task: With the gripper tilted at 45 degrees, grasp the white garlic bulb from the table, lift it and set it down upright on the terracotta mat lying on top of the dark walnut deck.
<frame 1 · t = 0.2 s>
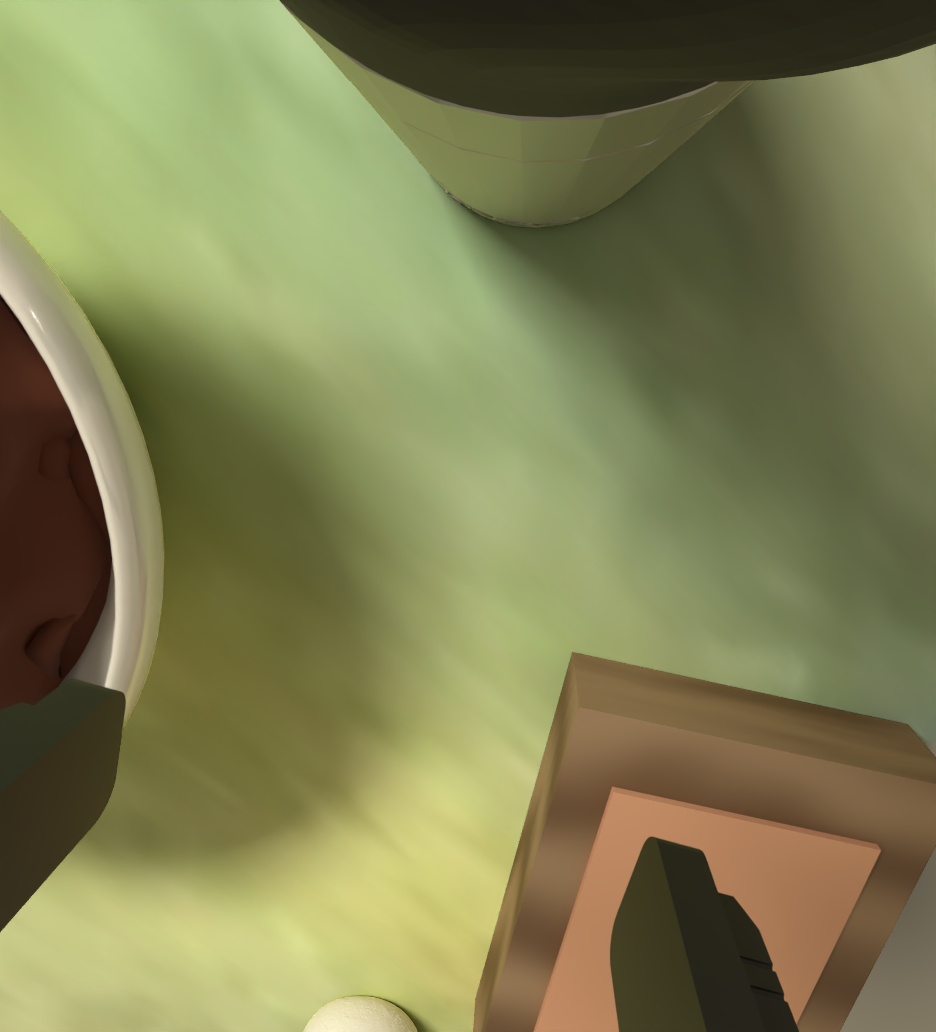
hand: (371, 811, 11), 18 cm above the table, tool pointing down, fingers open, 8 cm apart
garlic bulb: (367, 1026, 37), on the table
mat: (689, 953, 29), resting on deck
deck: (669, 875, 33), on the table
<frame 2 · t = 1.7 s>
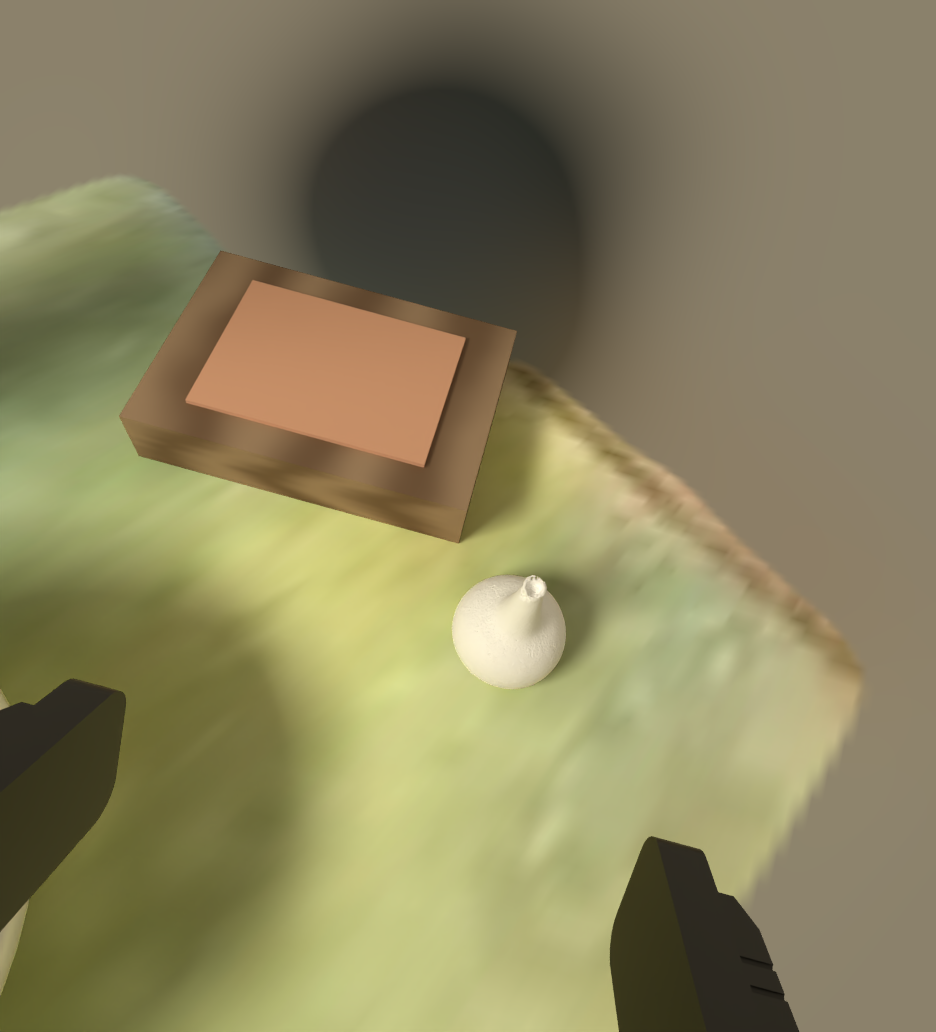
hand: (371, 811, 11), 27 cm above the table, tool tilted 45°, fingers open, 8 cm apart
garlic bulb: (504, 639, 41), on the table
mat: (333, 370, 43), resting on deck
deck: (336, 410, 47), on the table
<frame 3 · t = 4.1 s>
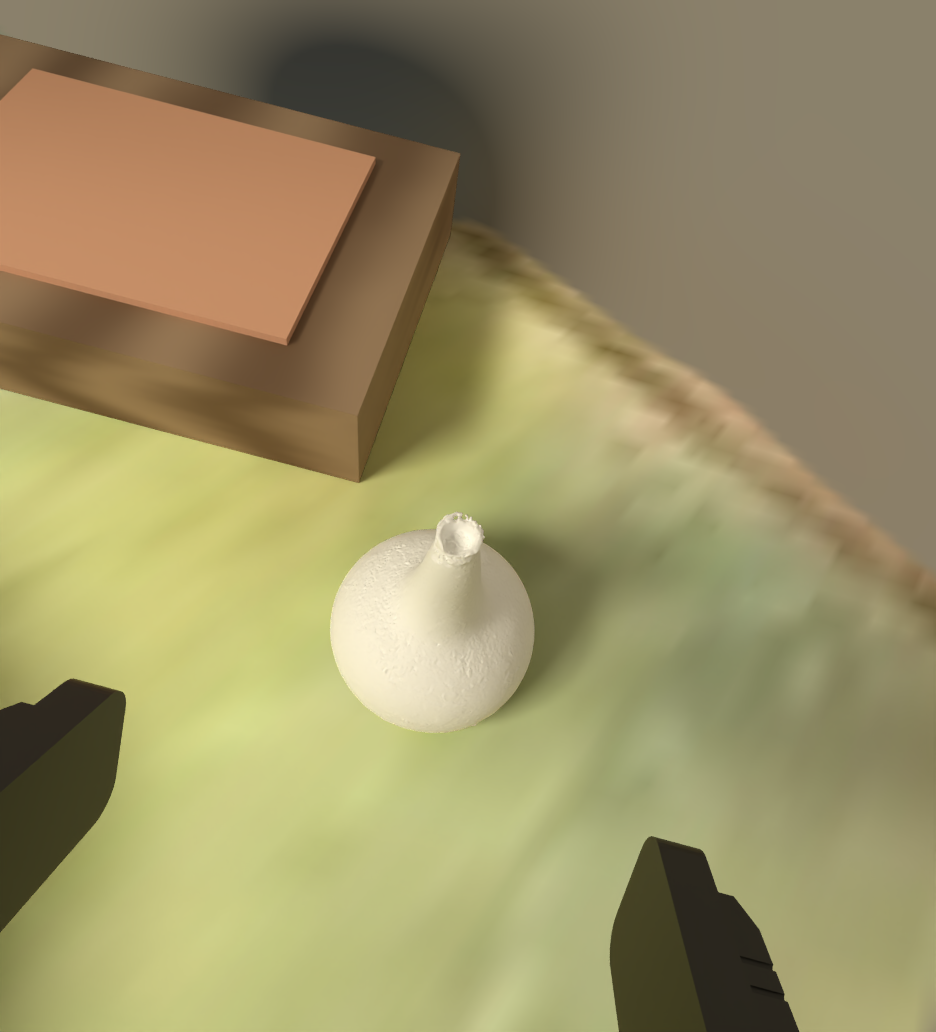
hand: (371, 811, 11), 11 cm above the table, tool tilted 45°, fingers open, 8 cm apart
garlic bulb: (429, 643, 24), on the table
mat: (149, 197, 26), resting on deck
deck: (175, 282, 29), on the table
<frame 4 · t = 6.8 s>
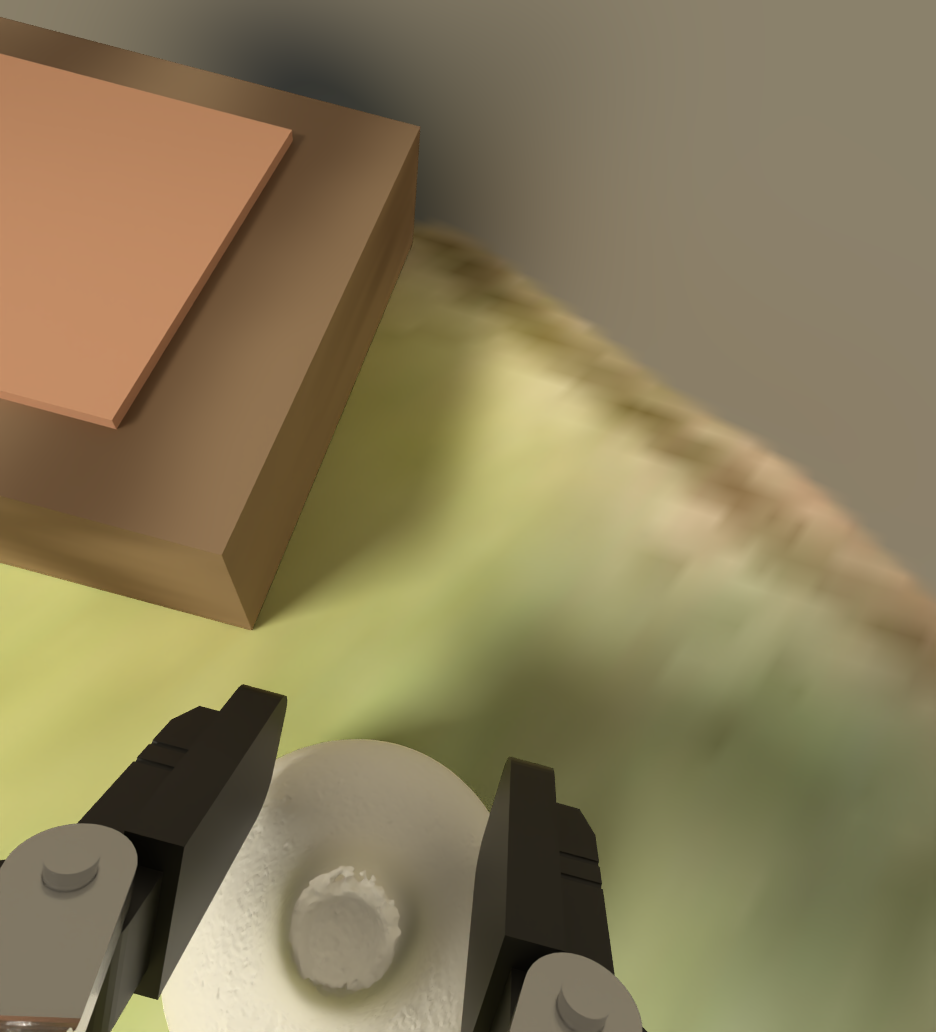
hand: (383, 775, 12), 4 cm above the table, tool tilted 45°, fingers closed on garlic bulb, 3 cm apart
garlic bulb: (350, 919, 14), on the table, touching gripper
deck: (5, 312, 20), on the table
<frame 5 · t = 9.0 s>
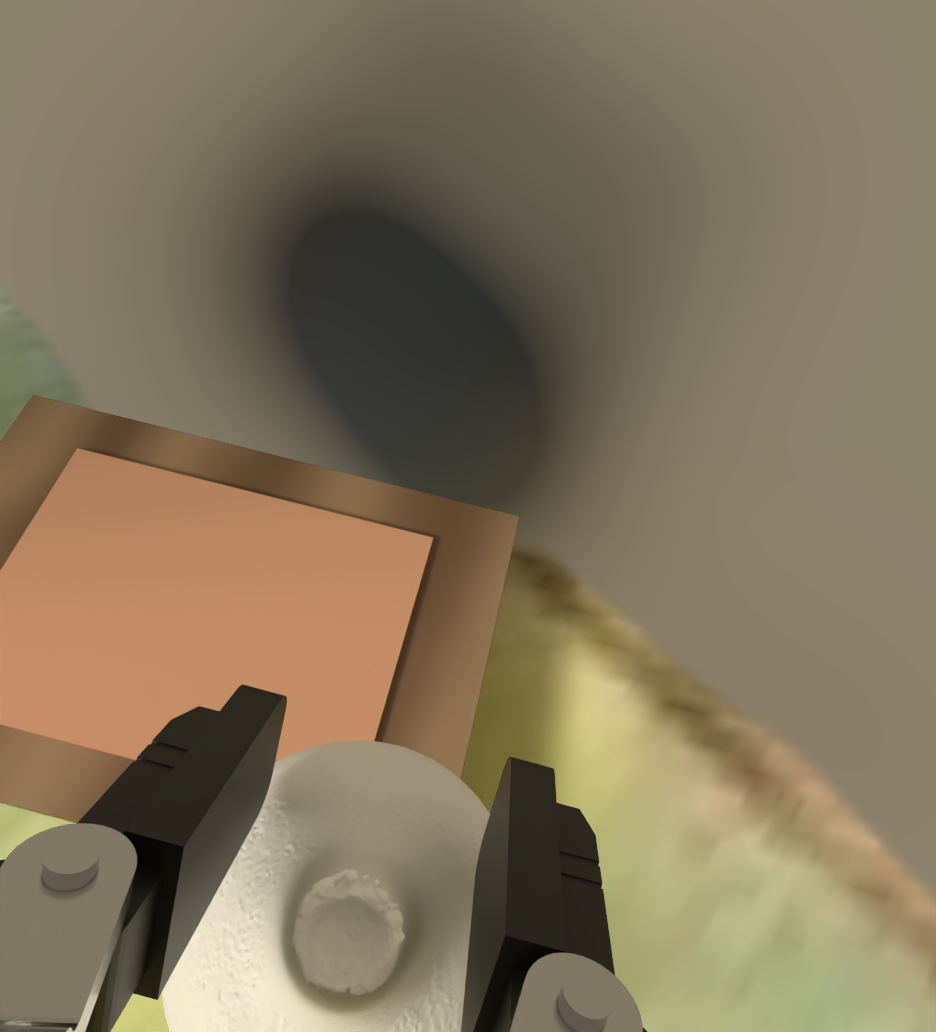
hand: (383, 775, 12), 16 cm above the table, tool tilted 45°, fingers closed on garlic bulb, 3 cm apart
garlic bulb: (351, 920, 14), point 12 cm above the table, touching gripper
mat: (201, 615, 25), resting on deck
deck: (224, 652, 28), on the table
when the fingers open (10 cm above the table, at t = 11.6 s): garlic bulb drops 1 cm, resting on mat.
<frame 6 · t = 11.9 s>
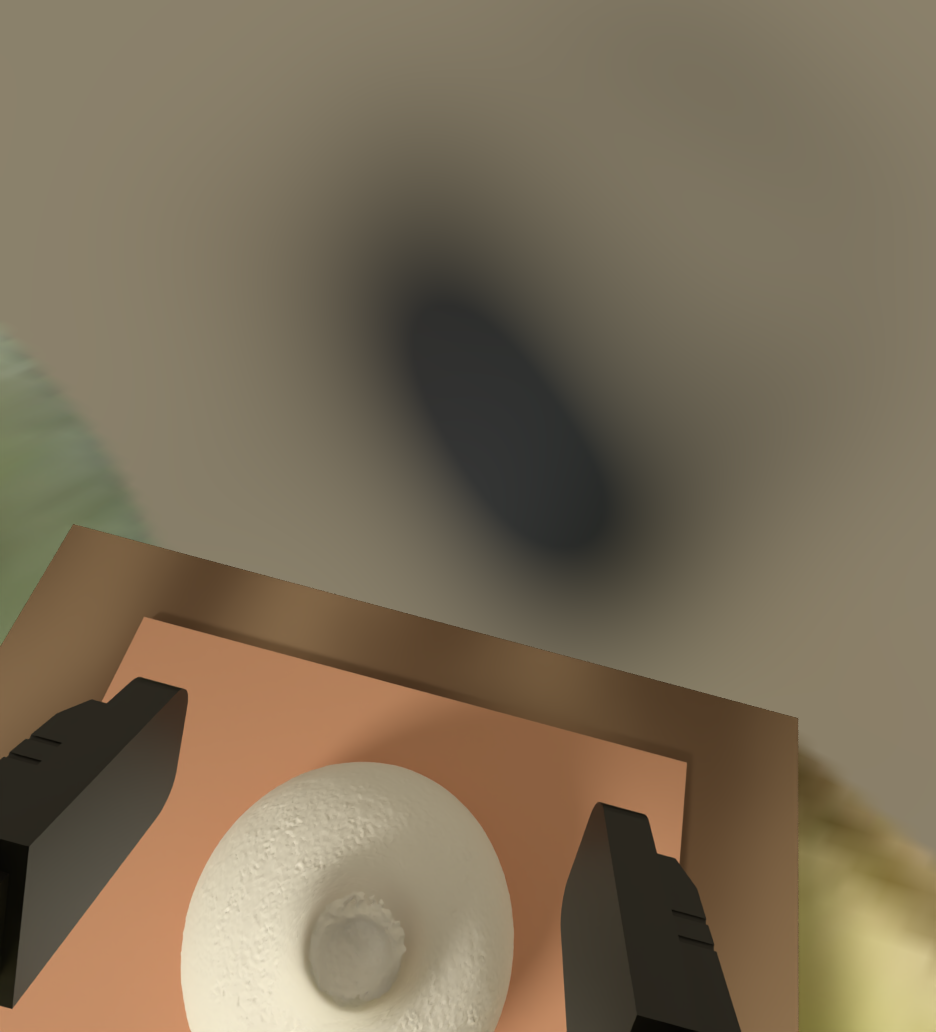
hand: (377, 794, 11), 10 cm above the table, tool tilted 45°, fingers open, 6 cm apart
garlic bulb: (354, 928, 15), point 4 cm above the table, touching mat
mat: (352, 912, 16), resting on deck
deck: (355, 913, 19), on the table
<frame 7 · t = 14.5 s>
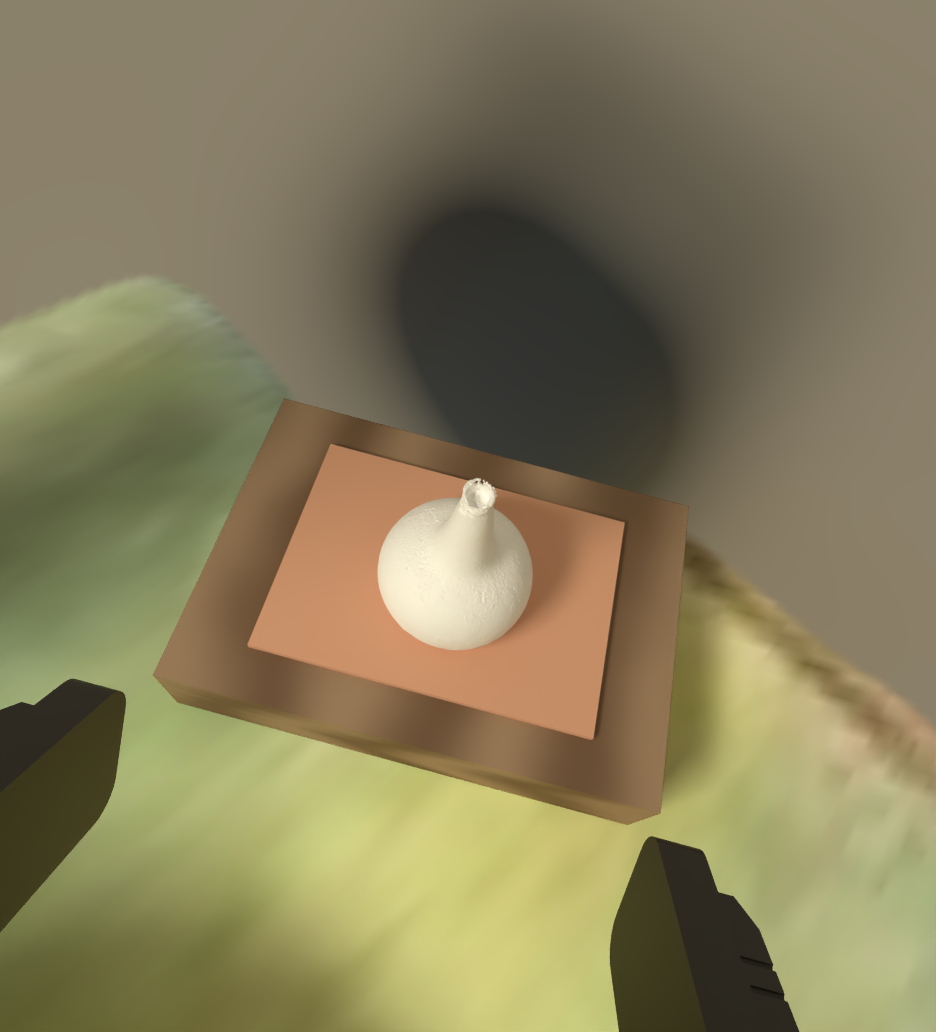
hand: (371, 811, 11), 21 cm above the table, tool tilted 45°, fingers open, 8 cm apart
garlic bulb: (451, 587, 30), point 4 cm above the table, touching mat
mat: (450, 581, 31), resting on deck
deck: (442, 615, 34), on the table
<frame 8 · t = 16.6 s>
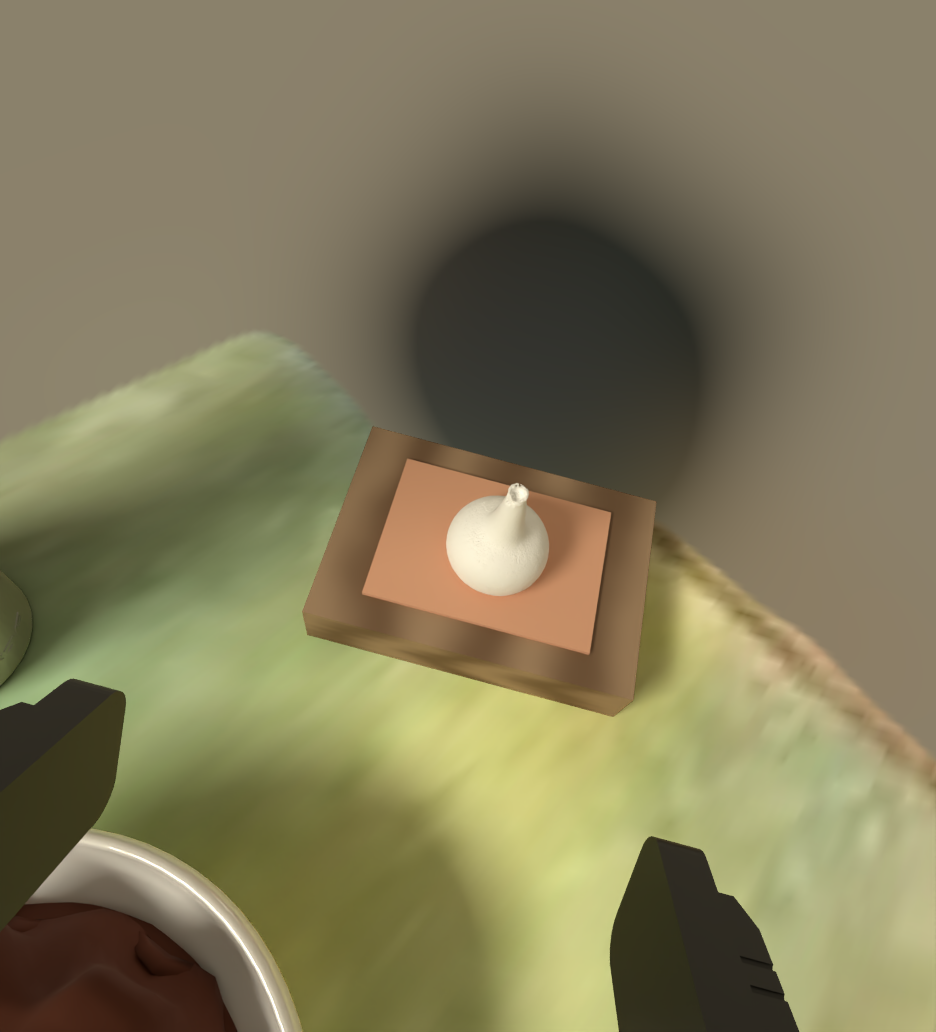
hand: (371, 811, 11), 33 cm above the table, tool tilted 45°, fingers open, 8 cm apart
garlic bulb: (493, 556, 45), point 4 cm above the table, touching mat
mat: (492, 552, 45), resting on deck
deck: (483, 578, 49), on the table
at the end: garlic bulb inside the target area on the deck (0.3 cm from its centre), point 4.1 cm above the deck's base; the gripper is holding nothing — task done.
